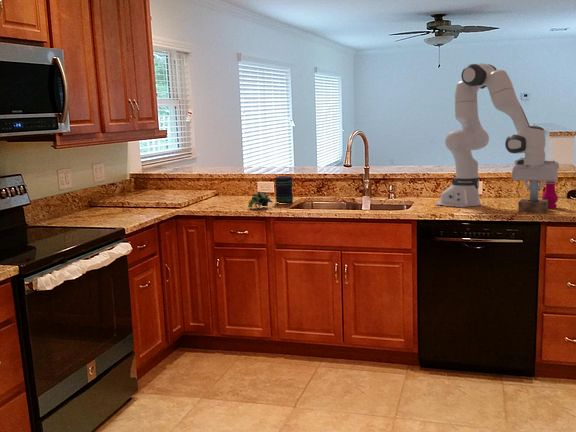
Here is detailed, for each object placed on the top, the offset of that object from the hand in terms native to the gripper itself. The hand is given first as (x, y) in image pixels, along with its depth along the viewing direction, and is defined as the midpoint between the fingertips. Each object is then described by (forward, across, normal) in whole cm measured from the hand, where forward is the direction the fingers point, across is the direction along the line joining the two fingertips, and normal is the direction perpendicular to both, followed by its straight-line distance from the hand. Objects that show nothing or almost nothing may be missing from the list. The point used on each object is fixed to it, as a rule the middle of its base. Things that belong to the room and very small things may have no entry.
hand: (534, 189), depth 285 cm
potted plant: (+10, +136, +28) cm, 139 cm away
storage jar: (+10, +133, +7) cm, 133 cm away
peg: (+5, 0, 0) cm, 5 cm away
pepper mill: (+10, -6, -12) cm, 17 cm away
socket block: (+10, 0, 0) cm, 10 cm away
